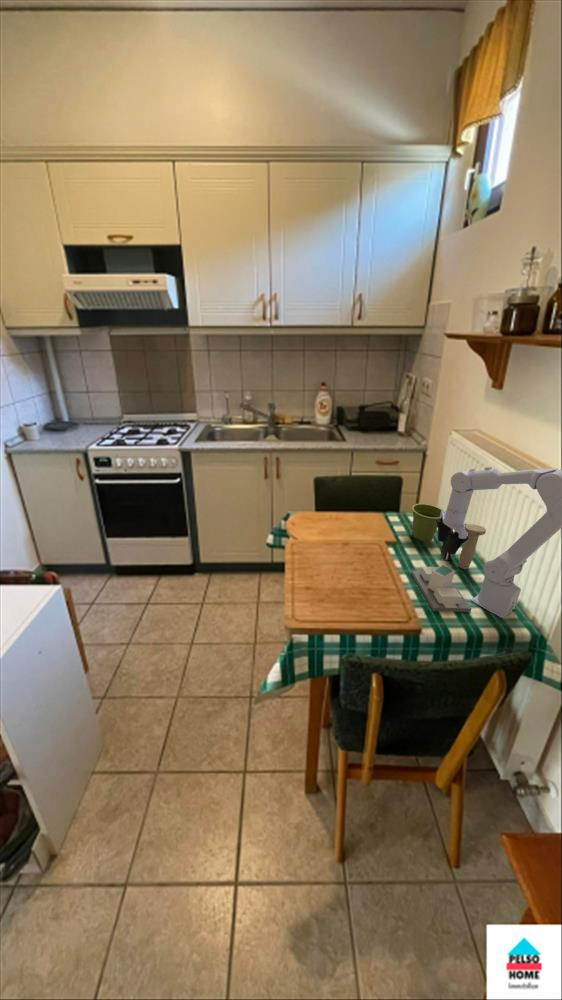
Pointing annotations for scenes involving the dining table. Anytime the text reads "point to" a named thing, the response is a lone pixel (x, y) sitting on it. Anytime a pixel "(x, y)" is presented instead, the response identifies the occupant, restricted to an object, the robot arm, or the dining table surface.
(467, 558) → the handle
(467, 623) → the dining table surface
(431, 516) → the plant pot
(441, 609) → the board
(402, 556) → the dining table surface
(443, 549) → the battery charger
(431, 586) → the module
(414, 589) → the dining table surface
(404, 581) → the dining table surface
